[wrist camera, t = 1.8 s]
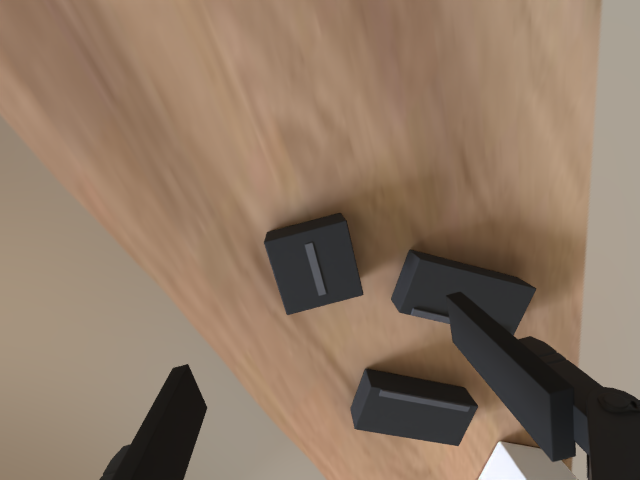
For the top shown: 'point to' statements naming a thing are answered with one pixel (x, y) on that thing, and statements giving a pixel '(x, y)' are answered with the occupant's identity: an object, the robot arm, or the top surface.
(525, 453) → the milk carton
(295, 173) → the top surface
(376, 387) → the pad row
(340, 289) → the loose pad
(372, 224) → the top surface
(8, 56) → the top surface
